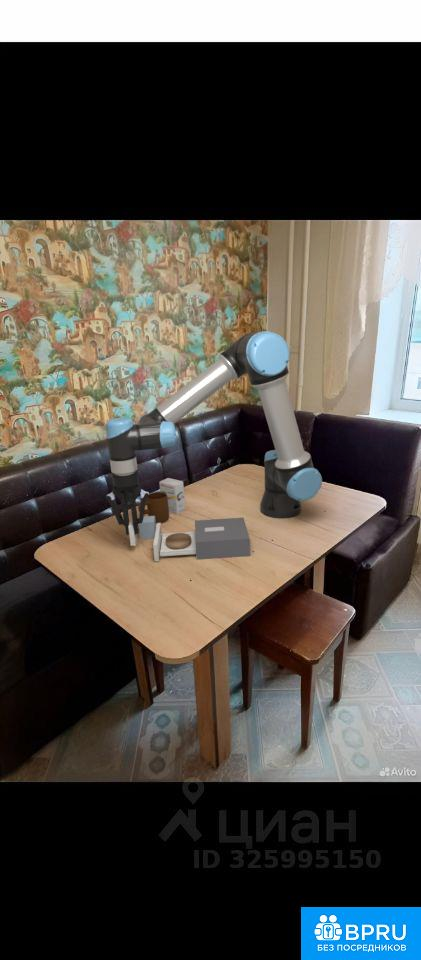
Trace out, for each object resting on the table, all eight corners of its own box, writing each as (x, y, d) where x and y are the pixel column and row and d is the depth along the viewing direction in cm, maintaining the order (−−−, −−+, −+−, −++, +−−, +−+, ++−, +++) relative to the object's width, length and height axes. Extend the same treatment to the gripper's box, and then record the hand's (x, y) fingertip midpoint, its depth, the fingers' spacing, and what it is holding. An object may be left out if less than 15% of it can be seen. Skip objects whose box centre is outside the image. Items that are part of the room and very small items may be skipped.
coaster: (166, 538, 131) (165, 534, 130) (191, 536, 131) (190, 532, 131) (165, 550, 123) (165, 545, 123) (191, 548, 124) (191, 544, 123)
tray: (206, 534, 135) (205, 519, 133) (208, 557, 121) (207, 541, 119) (157, 538, 134) (155, 523, 133) (153, 561, 120) (151, 545, 118)
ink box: (161, 509, 158) (158, 481, 154) (169, 505, 161) (167, 477, 158) (177, 514, 153) (174, 485, 149) (186, 509, 156) (183, 481, 152)
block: (156, 531, 140) (154, 515, 138) (155, 538, 135) (153, 522, 133) (142, 532, 140) (140, 516, 138) (140, 539, 135) (138, 523, 133)
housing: (243, 533, 135) (243, 516, 133) (250, 555, 121) (249, 537, 119) (195, 536, 135) (194, 520, 133) (196, 559, 121) (195, 541, 119)
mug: (146, 530, 141) (144, 505, 138) (134, 524, 146) (131, 499, 143) (173, 519, 149) (171, 495, 146) (161, 513, 154) (158, 490, 151)
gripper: (148, 466, 122) (155, 536, 130) (104, 469, 122) (114, 539, 130) (145, 474, 115) (153, 547, 123) (99, 477, 115) (110, 550, 123)
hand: (133, 543), depth 126 cm, fingers closed
